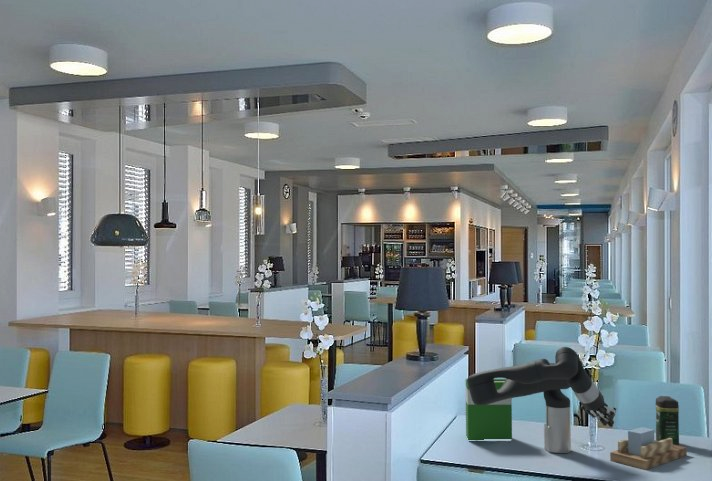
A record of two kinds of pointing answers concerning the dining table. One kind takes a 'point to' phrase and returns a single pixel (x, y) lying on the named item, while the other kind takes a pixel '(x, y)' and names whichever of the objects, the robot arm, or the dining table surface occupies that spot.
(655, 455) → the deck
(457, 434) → the dining table surface
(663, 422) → the coffee jar
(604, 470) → the dining table surface
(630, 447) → the block
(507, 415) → the hardback book
